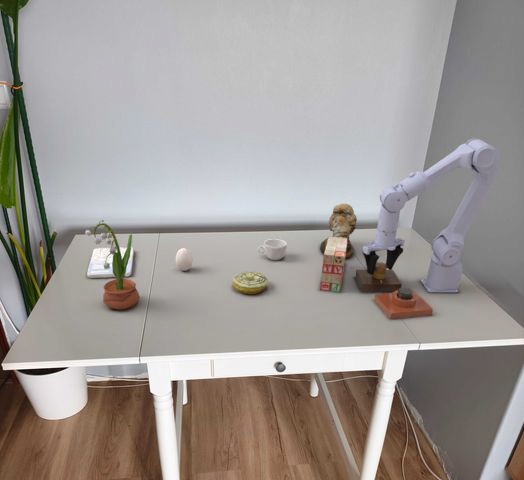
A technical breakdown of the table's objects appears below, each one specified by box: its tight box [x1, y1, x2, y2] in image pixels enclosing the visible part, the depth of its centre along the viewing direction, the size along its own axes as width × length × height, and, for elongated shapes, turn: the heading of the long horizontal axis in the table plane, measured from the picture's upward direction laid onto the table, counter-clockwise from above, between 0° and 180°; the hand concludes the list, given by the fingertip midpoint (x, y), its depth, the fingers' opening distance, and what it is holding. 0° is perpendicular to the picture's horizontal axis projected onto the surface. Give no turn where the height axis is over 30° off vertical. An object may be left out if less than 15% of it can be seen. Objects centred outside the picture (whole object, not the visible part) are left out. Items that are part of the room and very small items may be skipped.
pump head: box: [397, 287, 414, 300], centre depth 143 cm, size 4×4×2 cm
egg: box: [175, 247, 193, 272], centre depth 160 cm, size 5×5×8 cm
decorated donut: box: [232, 271, 270, 295], centre depth 152 cm, size 10×11×4 cm
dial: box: [372, 261, 388, 279], centre depth 154 cm, size 4×4×4 cm
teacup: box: [257, 238, 288, 261], centre depth 170 cm, size 10×8×5 cm
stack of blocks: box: [319, 236, 347, 293], centre depth 158 cm, size 21×6×12 cm, turn 168°
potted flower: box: [84, 220, 140, 310], centre depth 135 cm, size 12×10×25 cm
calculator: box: [86, 246, 135, 279], centre depth 163 cm, size 13×20×2 cm, turn 10°
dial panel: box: [354, 269, 403, 294], centre depth 156 cm, size 12×10×3 cm
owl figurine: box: [320, 203, 358, 261], centre depth 175 cm, size 18×12×17 cm, turn 1°
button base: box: [373, 290, 434, 320], centre depth 145 cm, size 13×11×4 cm
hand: (379, 270), depth 155 cm, fingers open, 7 cm apart
